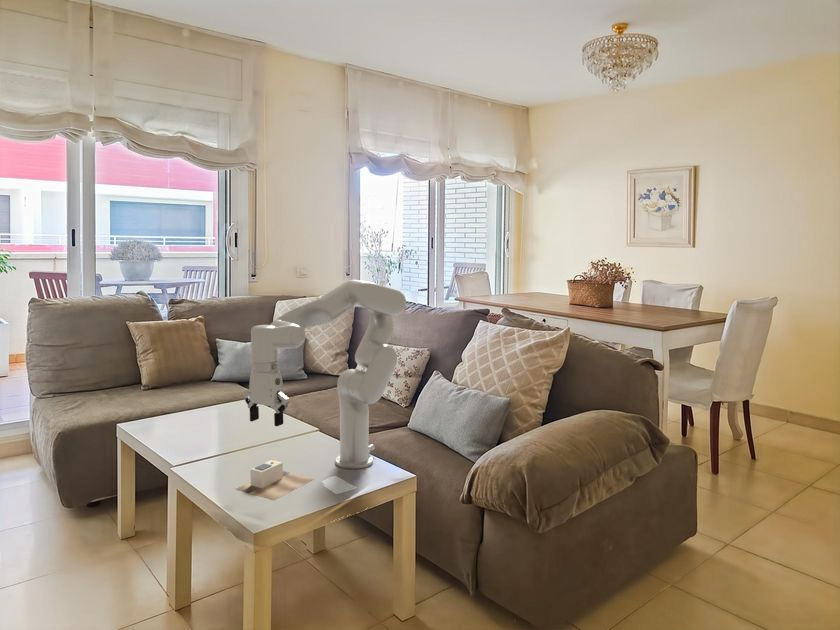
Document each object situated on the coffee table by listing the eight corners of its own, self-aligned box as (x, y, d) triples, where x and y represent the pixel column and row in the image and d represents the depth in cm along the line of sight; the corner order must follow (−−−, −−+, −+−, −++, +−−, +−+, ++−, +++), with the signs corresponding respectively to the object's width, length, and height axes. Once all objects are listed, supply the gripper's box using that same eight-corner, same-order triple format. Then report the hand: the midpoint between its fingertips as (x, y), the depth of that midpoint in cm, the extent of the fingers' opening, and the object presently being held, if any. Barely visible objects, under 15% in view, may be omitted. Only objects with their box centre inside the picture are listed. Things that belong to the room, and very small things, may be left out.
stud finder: (271, 475, 192) (271, 458, 191) (282, 478, 190) (282, 461, 189) (250, 485, 184) (250, 468, 183) (262, 488, 182) (261, 471, 181)
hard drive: (358, 487, 183) (336, 474, 193) (335, 494, 178) (313, 481, 187) (358, 492, 184) (336, 479, 193) (335, 500, 178) (313, 486, 188)
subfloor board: (277, 472, 197) (277, 469, 196) (314, 482, 189) (314, 478, 189) (235, 492, 181) (235, 489, 181) (274, 503, 174) (274, 500, 174)
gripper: (296, 367, 182) (297, 423, 184) (252, 361, 190) (253, 415, 192) (278, 372, 175) (280, 430, 177) (234, 365, 183) (236, 421, 185)
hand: (266, 422), depth 185 cm, fingers open, 9 cm apart
